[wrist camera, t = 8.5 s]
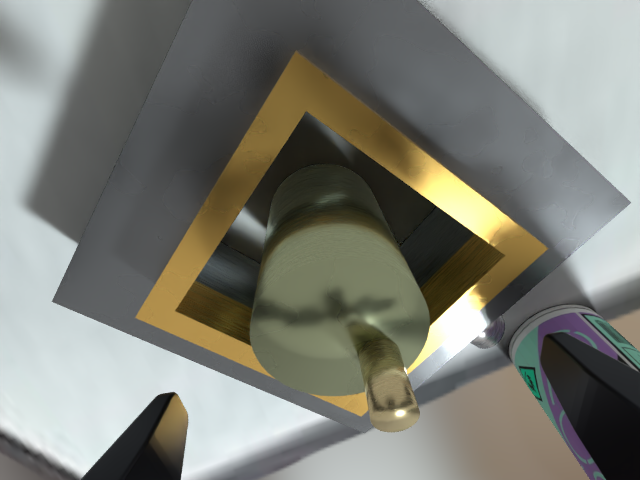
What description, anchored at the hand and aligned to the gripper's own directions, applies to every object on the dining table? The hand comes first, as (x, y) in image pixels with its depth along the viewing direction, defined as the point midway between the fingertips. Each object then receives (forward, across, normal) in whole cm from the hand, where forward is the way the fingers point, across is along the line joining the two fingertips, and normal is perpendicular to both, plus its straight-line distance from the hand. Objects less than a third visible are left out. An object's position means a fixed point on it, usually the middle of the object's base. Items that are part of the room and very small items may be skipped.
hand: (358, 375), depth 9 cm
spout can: (+9, 0, 0) cm, 9 cm away
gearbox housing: (+9, 0, 0) cm, 9 cm away
